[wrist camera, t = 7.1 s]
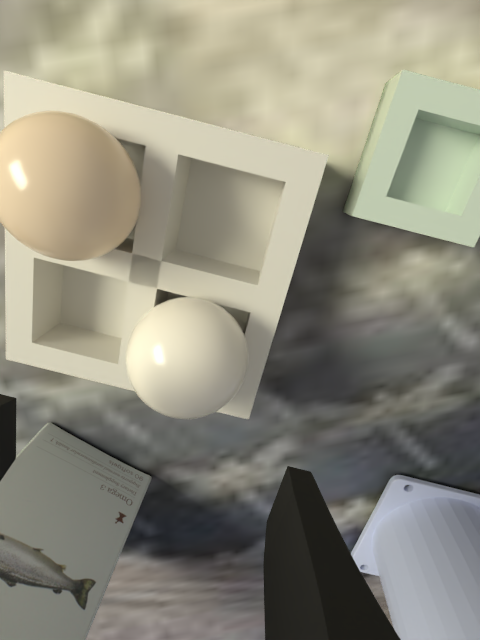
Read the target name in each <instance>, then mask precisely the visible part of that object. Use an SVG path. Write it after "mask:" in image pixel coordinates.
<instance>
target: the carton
mask: <svg viewBox="0 0 480 640" xmlns="http://www.w3.org/2000/svg"><path fill="white" fill-rule="evenodd" d="M49 110H50V111H63V112H68V113H74V114H77V115H80V116H83V117H85V118H87V119H89V120H91V121H93V122H95V123H97V124H99V125H100V126H102V127H103V128H105V129H106V130H107V131H108V132H109V133H110V134H112V135H113V136H114V137H115V138H116V139H117V140H118V141H119V142H120V143H121V145H122V146H123V147H124V149H125V150H126V151H127V153H128V154H129V156H130V158H131V160H132V161H133V164H134V166H135V168H136V171H137V174H138V177H139V182H140V187H141V207H140V212H139V216H138V219H137V222H136V224H135V226H134V228H133V230H132V231H131V233H130V234H129V235H128V237H127V238H126V239H125V240H124V241H123V242H122V243H121V244H120V245H119V246H118V247H116V248H115V249H114V250H112V251H110V252H109V253H107V254H105V255H102V256H100V257H97V258H94V259H89V260H82V261H65V260H59V259H54V258H51V257H47V256H44V255H42V254H40V253H37V252H35V251H33V250H31V249H30V248H28V247H26V246H25V245H23V244H22V243H21V242H19V241H18V240H17V239H16V238H15V237H13V236H12V235H11V234H10V233H9V232H8V231H7V229H6V228H5V300H6V359H8V360H12V361H16V362H20V363H24V364H28V365H32V366H36V367H40V368H44V369H48V370H52V371H56V372H60V373H64V374H68V375H72V376H76V377H80V378H84V379H88V380H92V381H96V382H100V383H104V384H108V385H112V386H116V387H120V388H124V389H128V390H132V391H135V390H134V388H133V386H132V385H131V383H130V380H129V377H128V373H127V368H126V349H127V345H128V341H129V338H130V336H131V333H132V331H133V329H134V328H135V326H136V324H137V323H138V322H139V320H140V319H141V318H142V317H143V316H144V315H145V314H146V313H147V312H148V311H149V310H151V309H152V308H154V307H155V306H157V305H159V304H161V303H163V302H165V301H168V300H171V299H175V298H181V297H195V298H201V299H205V300H208V301H211V302H213V303H215V304H217V305H219V306H221V307H222V308H224V309H225V310H226V311H227V312H229V313H230V314H231V316H232V317H233V318H234V319H235V320H236V321H237V323H238V324H239V326H240V327H241V329H242V331H243V333H244V336H245V339H246V342H247V347H248V368H247V372H246V376H245V379H244V381H243V383H242V385H241V387H240V389H239V391H238V392H237V394H236V395H235V396H234V397H233V398H232V399H231V401H229V402H228V403H227V404H226V405H225V406H224V407H222V408H221V409H219V410H218V411H216V412H220V413H224V414H228V415H232V416H236V417H240V418H244V419H248V420H249V416H250V413H251V410H252V407H253V403H254V400H255V397H256V393H257V390H258V387H259V383H260V380H261V377H262V374H263V370H264V367H265V364H266V360H267V357H268V354H269V351H270V347H271V344H272V341H273V337H274V334H275V331H276V327H277V324H278V321H279V318H280V314H281V311H282V308H283V304H284V301H285V298H286V295H287V291H288V288H289V285H290V281H291V278H292V275H293V271H294V268H295V265H296V262H297V258H298V255H299V252H300V248H301V245H302V242H303V238H304V235H305V232H306V229H307V225H308V222H309V219H310V215H311V212H312V209H313V206H314V202H315V199H316V196H317V192H318V189H319V186H320V182H321V179H322V176H323V173H324V169H325V166H326V163H327V159H328V156H329V155H327V154H323V153H319V152H315V151H311V150H307V149H304V148H300V147H296V146H292V145H288V144H284V143H281V142H277V141H273V140H269V139H265V138H261V137H258V136H254V135H250V134H246V133H242V132H238V131H234V130H231V129H227V128H223V127H219V126H215V125H211V124H208V123H204V122H200V121H196V120H192V119H188V118H185V117H181V116H177V115H173V114H169V113H165V112H162V111H158V110H154V109H150V108H146V107H142V106H139V105H135V104H131V103H127V102H123V101H119V100H116V99H112V98H108V97H104V96H100V95H96V94H93V93H89V92H85V91H81V90H77V89H73V88H70V87H66V86H62V85H58V84H54V83H50V82H47V81H43V80H39V79H35V78H31V77H27V76H24V75H20V74H16V73H12V72H8V71H4V128H5V127H6V126H7V125H9V124H10V123H11V122H13V121H14V120H16V119H18V118H20V117H22V116H25V115H27V114H31V113H34V112H41V111H49Z"/></svg>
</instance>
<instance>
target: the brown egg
mask: <svg viewBox="0 0 480 640" xmlns="http://www.w3.org/2000/svg"><path fill="white" fill-rule="evenodd" d="M140 207H141V187H140V182H139V177H138V174H137V171H136V168H135V166H134V164H133V161H132V160H131V158H130V156H129V154H128V153H127V151H126V150H125V149H124V147H123V146H122V145H121V143H120V142H119V141H118V140H117V139H116V138H115V137H114V136H113V135H112V134H110V133H109V132H108V131H107V130H106V129H105V128H103V127H102V126H100V125H99V124H97V123H95V122H93V121H91V120H89V119H87V118H85V117H83V116H80V115H77V114H74V113H68V112H63V111H50V110H49V111H41V112H34V113H31V114H27V115H25V116H22V117H20V118H18V119H16V120H14V121H13V122H11V123H10V124H9V125H7V126H6V127H5V128H4V129H3V130H2V131H1V132H0V222H1V223H2V225H3V226H4V227H5V228H6V229H7V231H8V232H9V233H10V234H11V235H12V236H13V237H15V238H16V239H17V240H18V241H19V242H21V243H22V244H23V245H25V246H26V247H28V248H30V249H31V250H33V251H35V252H37V253H40V254H42V255H44V256H47V257H51V258H54V259H59V260H65V261H82V260H89V259H94V258H97V257H100V256H102V255H105V254H107V253H109V252H110V251H112V250H114V249H115V248H116V247H118V246H119V245H120V244H121V243H122V242H123V241H124V240H125V239H126V238H127V237H128V235H129V234H130V233H131V231H132V230H133V228H134V226H135V224H136V222H137V219H138V216H139V212H140Z"/></svg>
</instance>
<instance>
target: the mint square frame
mask: <svg viewBox="0 0 480 640" xmlns="http://www.w3.org/2000/svg"><path fill="white" fill-rule="evenodd" d="M343 212H345V213H347V214H349V215H351V216H354V217H357V218H361V219H365V220H369V221H373V222H377V223H381V224H384V225H388V226H392V227H396V228H400V229H404V230H408V231H412V232H415V233H419V234H423V235H427V236H431V237H435V238H439V239H443V240H446V241H450V242H454V243H458V244H462V245H466V246H470V247H473V248H474V246H475V244H476V242H477V240H478V238H479V236H480V90H478V89H474V88H471V87H467V86H463V85H459V84H456V83H452V82H448V81H444V80H440V79H437V78H433V77H429V76H425V75H422V74H418V73H414V72H410V71H406V70H401V71H400V72H399V73H398V74H397V75H395V76H394V77H393V78H392V79H390V80H389V81H388V82H387V83H386V84H385V87H384V90H383V93H382V96H381V99H380V102H379V105H378V108H377V111H376V114H375V117H374V120H373V123H372V126H371V129H370V132H369V135H368V138H367V141H366V144H365V147H364V150H363V153H362V156H361V159H360V161H359V164H358V167H357V170H356V173H355V176H354V179H353V182H352V185H351V188H350V191H349V194H348V197H347V200H346V203H345V206H344V209H343Z"/></svg>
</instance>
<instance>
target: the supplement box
mask: <svg viewBox="0 0 480 640" xmlns="http://www.w3.org/2000/svg"><path fill="white" fill-rule="evenodd" d="M151 479H152V477H151V476H150V475H147V474H145V473H143V472H141V471H138V470H136V469H134V468H132V467H130V466H128V465H126V464H124V463H122V462H120V461H118V460H117V459H115V458H113V457H111V456H109V455H107V454H105V453H103V452H102V451H100V450H98V449H96V448H94V447H93V446H91V445H89V444H87V443H85V442H84V441H82V440H80V439H78V438H76V437H74V436H73V435H71V434H69V433H67V432H65V431H64V430H62V429H60V428H59V427H57V426H55V425H54V424H52V423H47V424H46V425H45V426H44V427H43V428H42V429H41V430H40V431H39V432H38V433H37V434H36V435H35V436H34V438H33V439H32V440H31V441H30V442H29V443H28V444H27V445H26V446H25V448H24V449H23V450H22V451H21V452H20V453H19V454H18V455H17V456H16V459H15V461H14V462H13V464H12V465H11V467H10V468H9V469H8V471H7V472H6V474H5V475H4V477H3V478H2V480H1V481H0V640H85V639H86V637H87V634H88V632H89V630H90V627H91V625H92V622H93V620H94V618H95V615H96V613H97V610H98V608H99V605H100V603H101V601H102V598H103V596H104V593H105V591H106V588H107V586H108V583H109V581H110V578H111V576H112V573H113V571H114V568H115V566H116V563H117V561H118V559H119V556H120V554H121V551H122V549H123V547H124V544H125V542H126V539H127V537H128V535H129V532H130V530H131V527H132V525H133V522H134V520H135V517H136V515H137V513H138V510H139V508H140V505H141V503H142V500H143V498H144V496H145V493H146V491H147V489H148V486H149V484H150V482H151Z"/></svg>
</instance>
